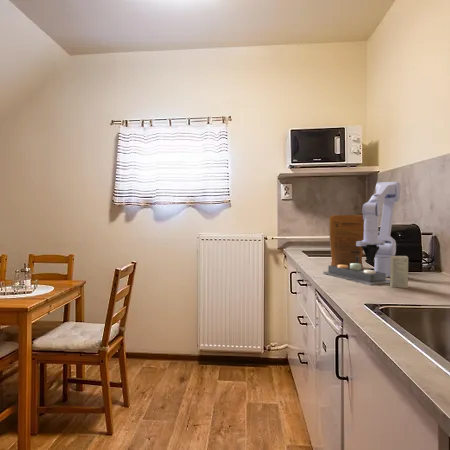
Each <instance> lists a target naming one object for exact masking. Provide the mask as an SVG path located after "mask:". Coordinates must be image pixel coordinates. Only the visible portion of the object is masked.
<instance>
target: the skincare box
mask: <svg viewBox="0 0 450 450" xmlns="http://www.w3.org/2000/svg"><path fill="white" fill-rule="evenodd" d="M389 280H390V283H389V286H390V287H391V288H402V289H408V288H409V257H408V256H407V255H394V256H391V262H390V277H389Z"/></svg>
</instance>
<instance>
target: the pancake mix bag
mask: <svg viewBox="0 0 450 450" xmlns="http://www.w3.org/2000/svg"><path fill="white" fill-rule="evenodd" d="M328 231H329V232H328V233H329V234H328V235H329V242H330V243H329V246H330V257H331V263H330V266H332V265H348V266H350V263H359V264H361V268H362V269H363V268H364V266H363V253H364V251H363V249H362V246H356V241H362V240H364V220H363V214H332V215H331V216H329V217H328Z"/></svg>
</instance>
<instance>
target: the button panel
mask: <svg viewBox="0 0 450 450" xmlns="http://www.w3.org/2000/svg"><path fill="white" fill-rule="evenodd" d="M327 267H328V270H327V271H323V275H326V276H331V277H335V278H338V279H339V278H340V279H342V280H348V281H352V282H356V283H359V284H364V285H368V286H376V285H383V284H385V285H386V284H390V279H386V278H387V277H386V273H382V272H377V271H376V273H371V274H370V273H365V272H364V270H368V268H367V269H366V268H363V267H362V268H361V270H357V271H355V270H350V266H348V267H347V268H341V267H337V265H328V266H327Z"/></svg>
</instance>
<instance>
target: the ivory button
mask: <svg viewBox="0 0 450 450" xmlns="http://www.w3.org/2000/svg"><path fill="white" fill-rule="evenodd" d="M364 272H365V273H370V274H371V273H376V271H374V269H367V270H364Z"/></svg>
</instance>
